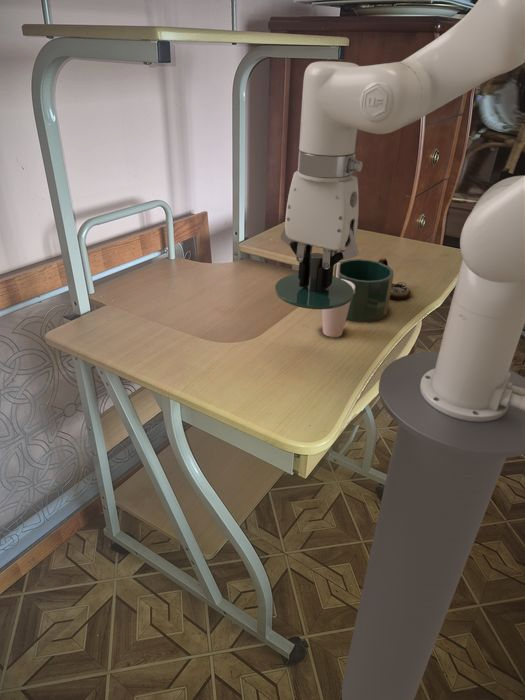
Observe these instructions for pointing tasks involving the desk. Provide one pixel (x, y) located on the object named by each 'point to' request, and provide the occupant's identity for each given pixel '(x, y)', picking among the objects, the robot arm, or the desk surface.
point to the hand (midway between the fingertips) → (314, 285)
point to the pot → (367, 288)
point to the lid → (314, 289)
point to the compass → (397, 287)
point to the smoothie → (335, 315)
